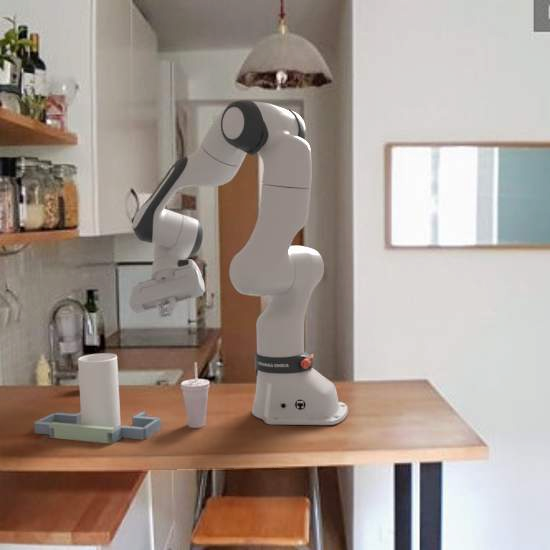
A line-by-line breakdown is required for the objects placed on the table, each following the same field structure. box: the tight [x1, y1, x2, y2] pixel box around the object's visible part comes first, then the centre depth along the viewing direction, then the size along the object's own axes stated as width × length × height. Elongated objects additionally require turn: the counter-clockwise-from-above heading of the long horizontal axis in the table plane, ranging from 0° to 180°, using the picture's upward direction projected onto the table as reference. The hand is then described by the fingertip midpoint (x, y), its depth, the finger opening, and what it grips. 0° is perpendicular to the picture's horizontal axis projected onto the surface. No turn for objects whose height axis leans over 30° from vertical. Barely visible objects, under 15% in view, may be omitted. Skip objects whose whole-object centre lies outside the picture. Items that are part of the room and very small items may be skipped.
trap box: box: [34, 410, 162, 445], centre depth 125 cm, size 26×14×3 cm, turn 73°
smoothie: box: [180, 361, 211, 429], centre depth 126 cm, size 6×6×14 cm
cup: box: [77, 352, 121, 428], centre depth 125 cm, size 8×8×16 cm
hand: (165, 315), depth 144 cm, fingers closed
